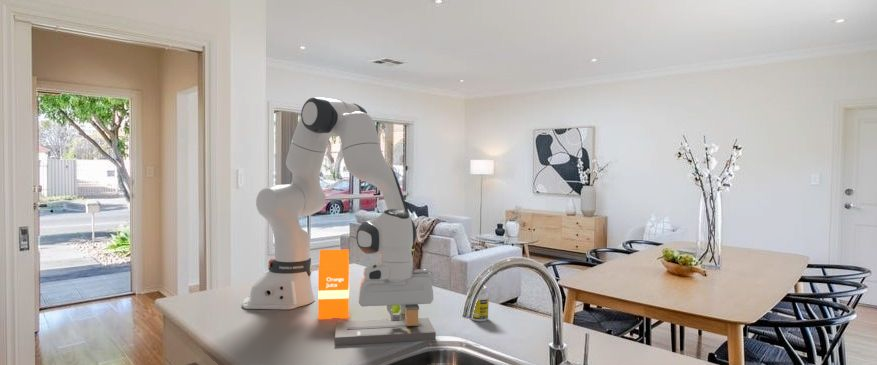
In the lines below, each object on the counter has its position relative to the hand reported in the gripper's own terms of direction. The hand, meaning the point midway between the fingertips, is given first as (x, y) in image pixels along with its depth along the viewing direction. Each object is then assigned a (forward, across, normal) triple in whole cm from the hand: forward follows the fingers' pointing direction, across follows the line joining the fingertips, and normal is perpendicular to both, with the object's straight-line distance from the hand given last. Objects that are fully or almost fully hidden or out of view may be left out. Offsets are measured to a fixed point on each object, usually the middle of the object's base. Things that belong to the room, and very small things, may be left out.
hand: (395, 320), depth 131 cm
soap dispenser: (+4, -4, -19) cm, 20 cm away
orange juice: (+4, +17, -19) cm, 26 cm away
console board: (+4, +3, 0) cm, 5 cm away
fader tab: (+1, -4, 0) cm, 4 cm away
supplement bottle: (+4, -26, -9) cm, 28 cm away
